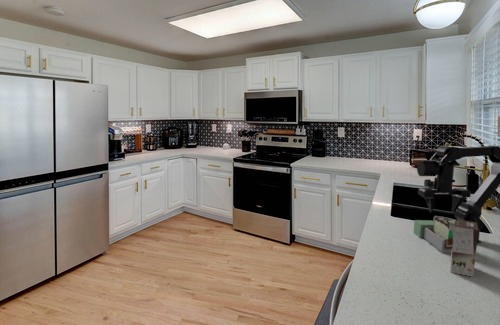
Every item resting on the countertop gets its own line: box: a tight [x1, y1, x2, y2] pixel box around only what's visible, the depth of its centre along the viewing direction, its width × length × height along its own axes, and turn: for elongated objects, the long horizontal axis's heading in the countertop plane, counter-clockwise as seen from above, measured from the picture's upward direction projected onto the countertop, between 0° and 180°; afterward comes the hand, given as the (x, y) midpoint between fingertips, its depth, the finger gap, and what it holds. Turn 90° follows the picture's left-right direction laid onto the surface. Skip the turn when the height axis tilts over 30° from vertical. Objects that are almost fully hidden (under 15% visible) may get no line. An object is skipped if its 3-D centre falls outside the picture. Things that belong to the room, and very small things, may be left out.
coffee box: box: [449, 219, 478, 278], centre depth 99 cm, size 9×6×16 cm
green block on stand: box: [413, 219, 452, 254], centre depth 122 cm, size 12×21×6 cm, turn 175°
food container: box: [432, 215, 456, 249], centre depth 119 cm, size 12×6×10 cm, turn 175°
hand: (442, 212), depth 125 cm, fingers open, 9 cm apart
